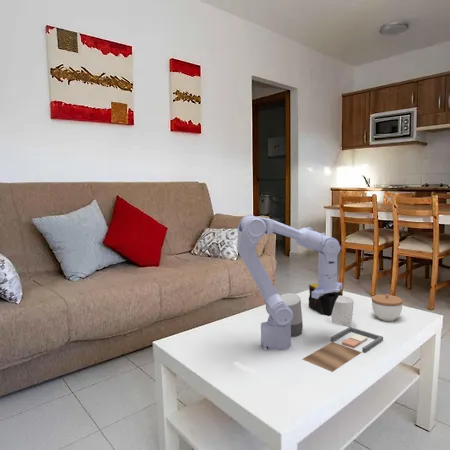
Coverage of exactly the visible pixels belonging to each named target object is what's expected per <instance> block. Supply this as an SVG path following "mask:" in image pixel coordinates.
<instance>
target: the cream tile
mask: <svg viewBox="0 0 450 450" xmlns="http://www.w3.org/2000/svg"><path fill="white" fill-rule="evenodd" d="M349 338H350V339H353V340H356V341H359V342H360V345H362V344H364V342H366V341H368V337H366V336H362V335H359V334H356V333H354V335H353V334H352V336H350V337H349Z"/></svg>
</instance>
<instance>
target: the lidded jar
mask: <svg viewBox="0 0 450 450" xmlns="http://www.w3.org/2000/svg"><path fill="white" fill-rule="evenodd" d="M403 302H404V301H403V298H401V297H399V296H396V295H393V294H392V295H391V294H388V293H385V294H375V295H372V296H371V306H372V310H373V313H374V315H375V316H376V317H377V319H378V320H380V321H384V322H394V321H396V319H398V318H399V317H400V315H401V314H402V310H403Z"/></svg>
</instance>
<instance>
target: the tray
mask: <svg viewBox="0 0 450 450" xmlns="http://www.w3.org/2000/svg"><path fill="white" fill-rule="evenodd" d="M350 333H353V334H358V335H361V336H364V337H367V338H369V339H373V340H372V341H371V342H369V343H367V344H366V345H365V346H363V347H362V350H361V352H362V353H364V354H366V353H368V352H369V351H370V350H371V349H373V348H375V347H376V346H377V345H379V344H381V343H382V342H383V341H384V336H382V335H377V334H375V333H371V332H369V331H366V330H362V329H359V328H356V327H352V326H351V327H347V328H345V329H343V330H341V331H340V332H337V333H336V334H333V335H332V336H330V342H331V343H332V342H334V343H335V341H337V340H339V339H341V338H342V337H345V336H346V335H348V334H350Z"/></svg>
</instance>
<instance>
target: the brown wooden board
mask: <svg viewBox="0 0 450 450" xmlns="http://www.w3.org/2000/svg"><path fill="white" fill-rule="evenodd" d="M362 353H363V352H362V351H359V350H357V349H355V348H351V347H348V346H345V345H342V344H339V343H336V342H335V341H334V342H332V341H331V342H329V343H328V344H326V345H325V346H323V347H320V348H319V349H318V350H316V351H314V352H312V353H310V354H309V355H307V356H306V357H303V358H302V361H304V362H305V361H306V362H308V363H310V364H312V365H315V366H317V367H320V368H322V369H325V370H327V371H330V372H331V373H333V372H335V371H336V370H338V369H339V368H341V367H342V366H344V365H345V364H347V363H348V362H350V361H351V360H352V359H355V358H356V357H357V356H359V355H361V354H362Z"/></svg>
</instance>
